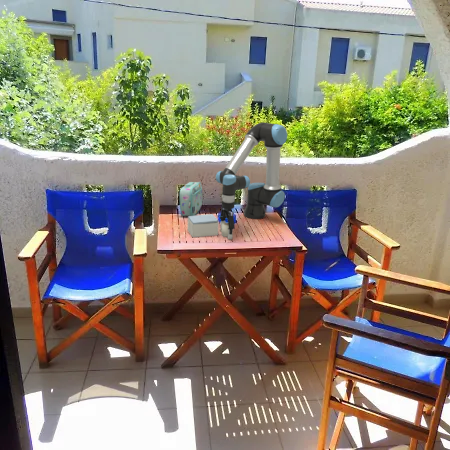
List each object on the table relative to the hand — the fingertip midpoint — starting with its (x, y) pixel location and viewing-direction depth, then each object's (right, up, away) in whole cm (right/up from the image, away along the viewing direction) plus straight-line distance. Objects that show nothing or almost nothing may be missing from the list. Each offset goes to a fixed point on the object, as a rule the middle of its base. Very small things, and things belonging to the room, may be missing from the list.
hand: (226, 234), depth 255 cm
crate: (-15, +1, +2) cm, 15 cm away
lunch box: (-24, +14, +36) cm, 46 cm away
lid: (-14, +9, -1) cm, 17 cm away
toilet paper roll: (0, 0, 0) cm, 0 cm away
